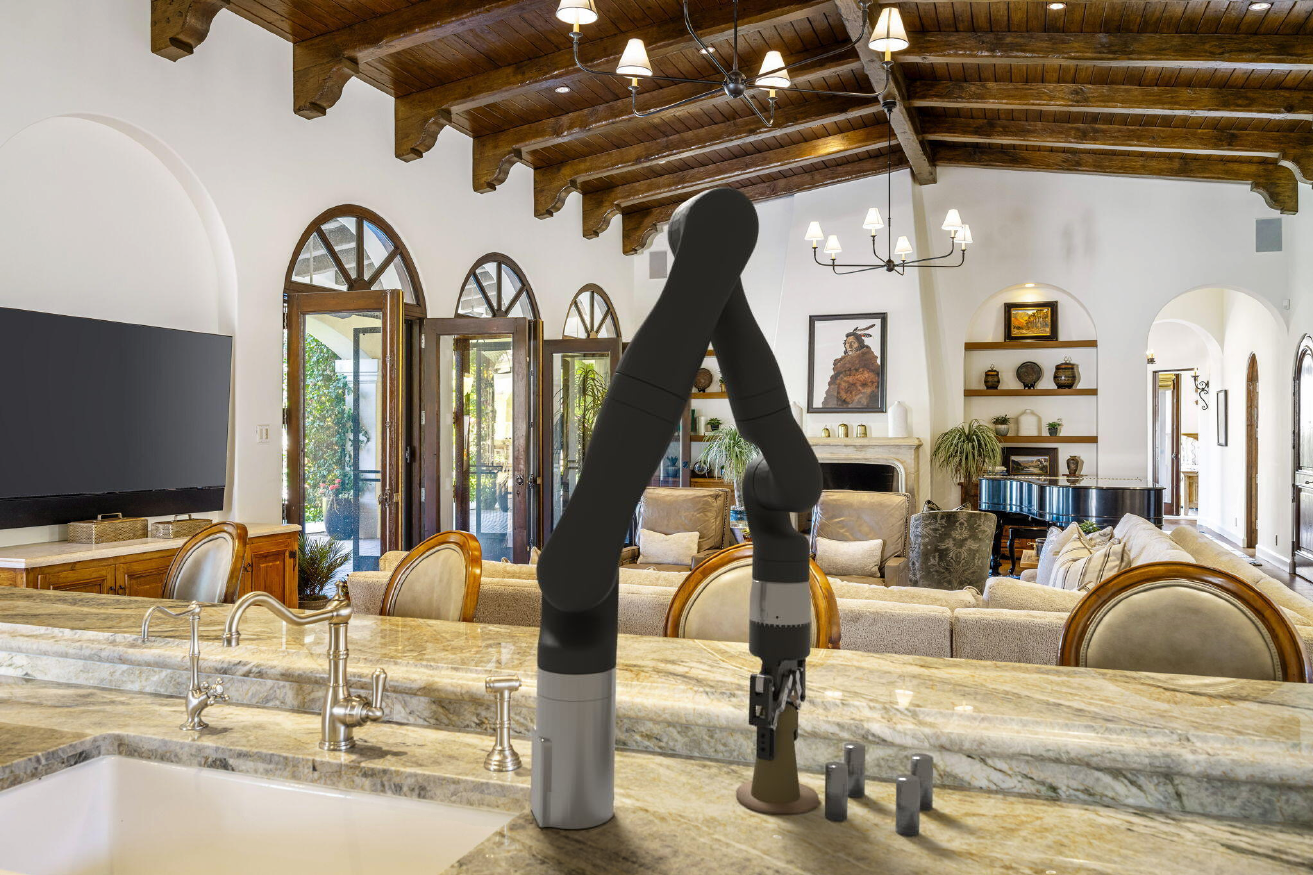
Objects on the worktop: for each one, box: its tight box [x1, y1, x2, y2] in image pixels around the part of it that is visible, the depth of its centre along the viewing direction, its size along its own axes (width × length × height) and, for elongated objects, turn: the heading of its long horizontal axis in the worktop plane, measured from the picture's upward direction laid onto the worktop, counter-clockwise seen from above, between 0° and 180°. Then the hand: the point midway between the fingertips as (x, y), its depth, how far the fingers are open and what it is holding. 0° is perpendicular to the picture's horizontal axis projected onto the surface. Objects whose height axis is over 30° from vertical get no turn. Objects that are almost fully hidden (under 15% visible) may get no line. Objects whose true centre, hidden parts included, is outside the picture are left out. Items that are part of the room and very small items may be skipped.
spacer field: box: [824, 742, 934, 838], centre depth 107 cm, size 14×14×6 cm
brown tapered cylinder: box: [751, 703, 800, 804], centre depth 111 cm, size 6×6×11 cm
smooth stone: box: [735, 780, 819, 816], centre depth 111 cm, size 10×10×1 cm
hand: (777, 749), depth 111 cm, fingers open, 8 cm apart
